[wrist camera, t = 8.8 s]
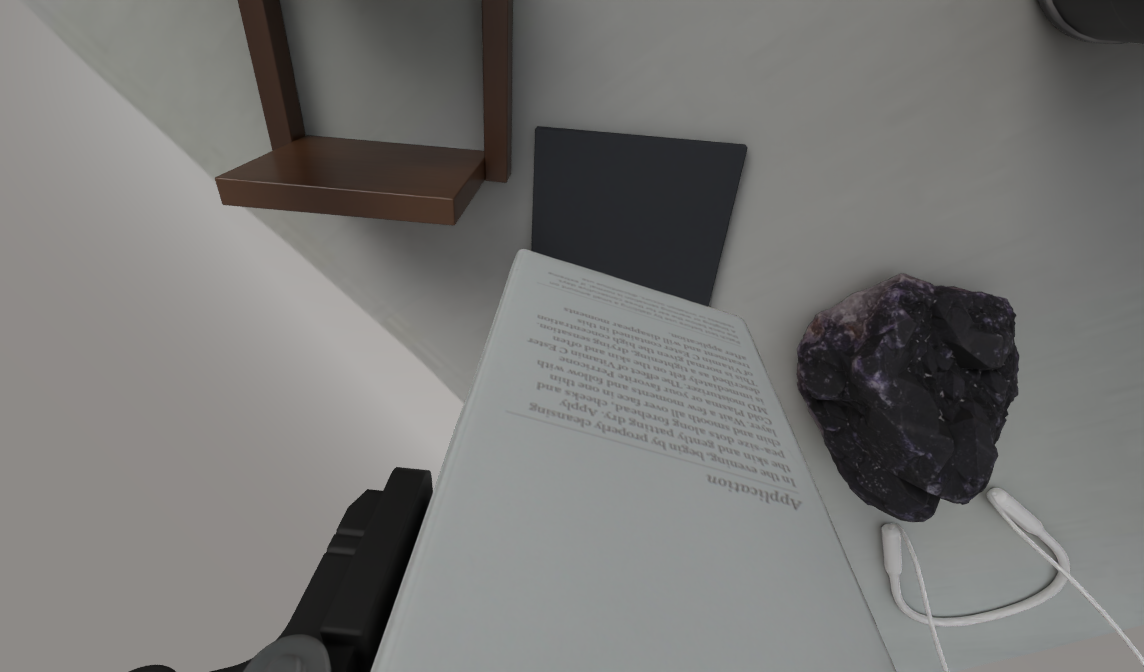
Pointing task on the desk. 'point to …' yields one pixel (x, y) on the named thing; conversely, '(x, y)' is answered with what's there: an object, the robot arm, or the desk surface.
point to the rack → (367, 168)
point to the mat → (635, 206)
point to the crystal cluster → (911, 391)
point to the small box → (624, 502)
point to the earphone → (1031, 524)
